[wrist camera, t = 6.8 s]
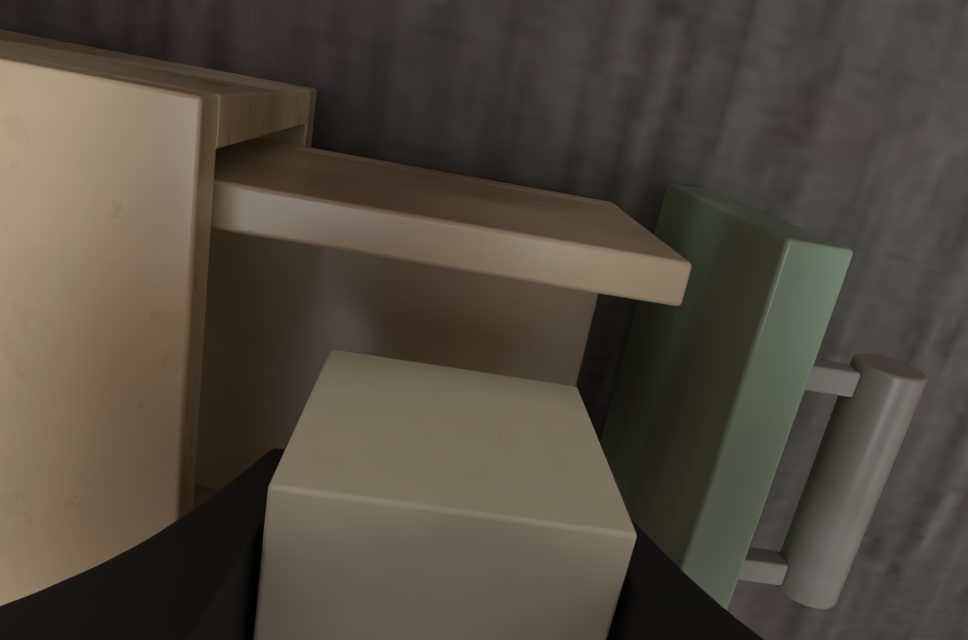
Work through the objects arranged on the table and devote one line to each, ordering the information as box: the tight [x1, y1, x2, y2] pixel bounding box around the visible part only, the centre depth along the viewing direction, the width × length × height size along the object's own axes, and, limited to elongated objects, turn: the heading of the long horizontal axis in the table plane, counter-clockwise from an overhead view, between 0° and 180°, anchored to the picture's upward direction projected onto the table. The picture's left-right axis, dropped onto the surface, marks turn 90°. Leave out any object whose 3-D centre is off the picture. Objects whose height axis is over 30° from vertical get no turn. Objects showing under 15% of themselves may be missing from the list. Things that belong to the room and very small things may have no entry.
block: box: [253, 350, 637, 640], centre depth 11 cm, size 4×4×4 cm
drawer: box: [193, 138, 927, 610], centre depth 16 cm, size 18×11×7 cm, turn 80°
